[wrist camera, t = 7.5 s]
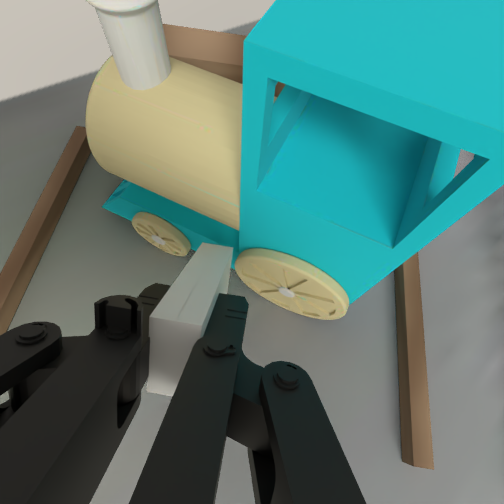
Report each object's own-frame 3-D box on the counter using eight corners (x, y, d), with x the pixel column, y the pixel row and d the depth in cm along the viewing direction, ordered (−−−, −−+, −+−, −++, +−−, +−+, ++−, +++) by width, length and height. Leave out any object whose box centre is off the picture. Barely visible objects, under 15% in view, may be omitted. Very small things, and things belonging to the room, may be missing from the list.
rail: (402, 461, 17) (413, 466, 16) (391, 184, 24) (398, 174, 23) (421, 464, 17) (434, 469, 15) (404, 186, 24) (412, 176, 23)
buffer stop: (156, 139, 25) (133, 67, 19) (171, 98, 27) (154, 22, 21) (333, 166, 24) (361, 101, 19) (335, 123, 26) (361, 52, 21)
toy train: (162, 144, 25) (71, -166, 11) (363, 229, 22) (565, -29, 9) (100, 223, 22) (-135, -72, 8) (325, 331, 19) (546, 178, 6)
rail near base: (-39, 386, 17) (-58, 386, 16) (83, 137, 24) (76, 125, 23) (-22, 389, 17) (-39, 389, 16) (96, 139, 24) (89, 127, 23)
